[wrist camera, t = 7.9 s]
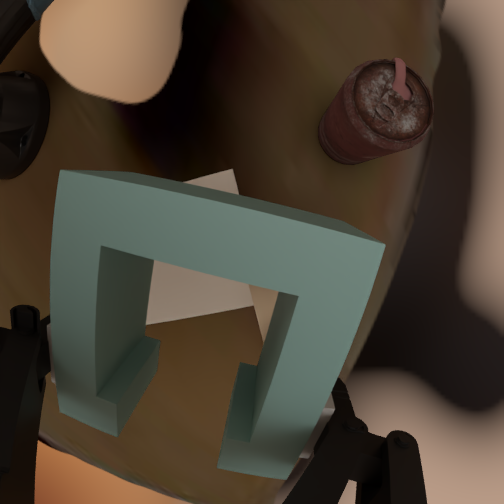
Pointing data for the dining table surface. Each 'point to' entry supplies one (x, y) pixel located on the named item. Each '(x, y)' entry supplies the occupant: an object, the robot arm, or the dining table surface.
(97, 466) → the dining table surface
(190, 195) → the c link
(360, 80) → the can
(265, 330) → the hook stand
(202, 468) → the dining table surface
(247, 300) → the felt mat
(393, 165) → the dining table surface
